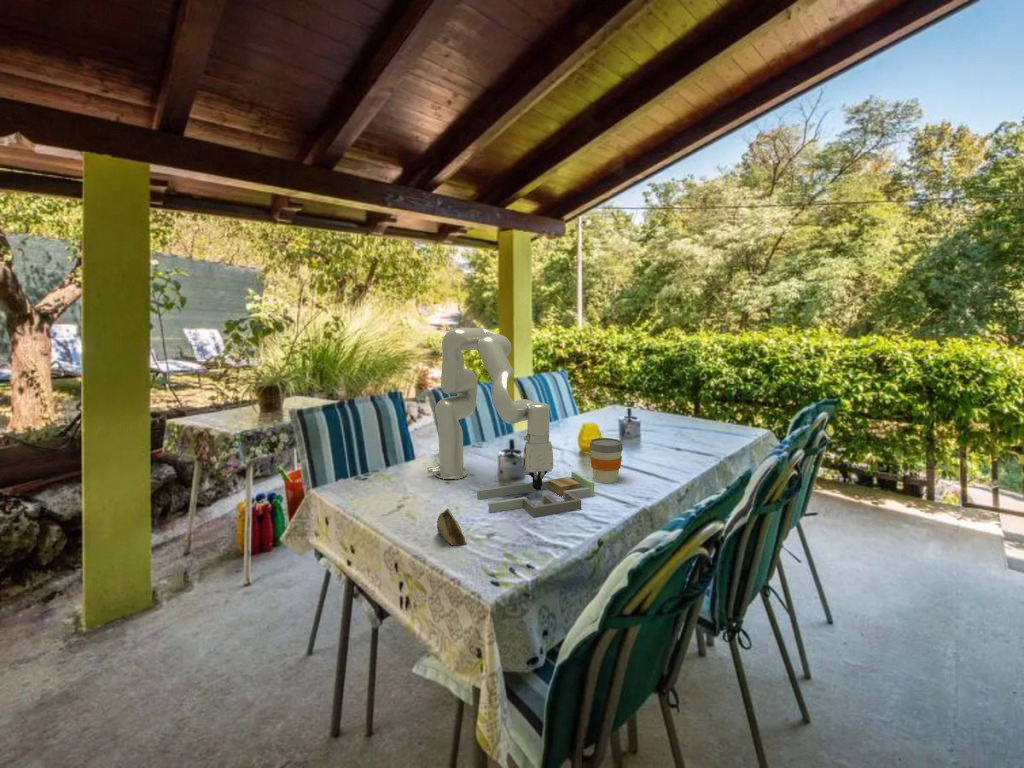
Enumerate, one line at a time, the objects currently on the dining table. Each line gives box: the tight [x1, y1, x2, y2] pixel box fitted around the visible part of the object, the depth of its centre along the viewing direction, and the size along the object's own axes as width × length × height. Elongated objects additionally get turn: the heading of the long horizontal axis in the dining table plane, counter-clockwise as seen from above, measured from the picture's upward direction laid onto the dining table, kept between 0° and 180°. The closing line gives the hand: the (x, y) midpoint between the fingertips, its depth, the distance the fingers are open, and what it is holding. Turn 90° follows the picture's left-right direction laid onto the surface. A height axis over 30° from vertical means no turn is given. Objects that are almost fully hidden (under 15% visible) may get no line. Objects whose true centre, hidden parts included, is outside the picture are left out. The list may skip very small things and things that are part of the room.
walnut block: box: [548, 476, 580, 497], centre depth 170 cm, size 8×8×4 cm
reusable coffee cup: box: [589, 437, 624, 484], centre depth 183 cm, size 13×13×15 cm
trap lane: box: [476, 470, 595, 518], centre depth 161 cm, size 38×22×5 cm, turn 111°
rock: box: [436, 507, 467, 546], centre depth 134 cm, size 11×9×10 cm
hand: (537, 489), depth 167 cm, fingers closed
